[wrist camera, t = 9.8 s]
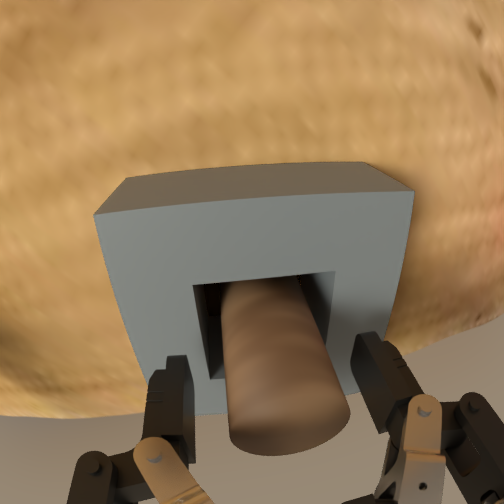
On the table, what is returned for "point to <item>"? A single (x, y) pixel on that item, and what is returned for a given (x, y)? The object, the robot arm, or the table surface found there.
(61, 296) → the table surface
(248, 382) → the tall walnut pin
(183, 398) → the robot arm
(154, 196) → the slate block
